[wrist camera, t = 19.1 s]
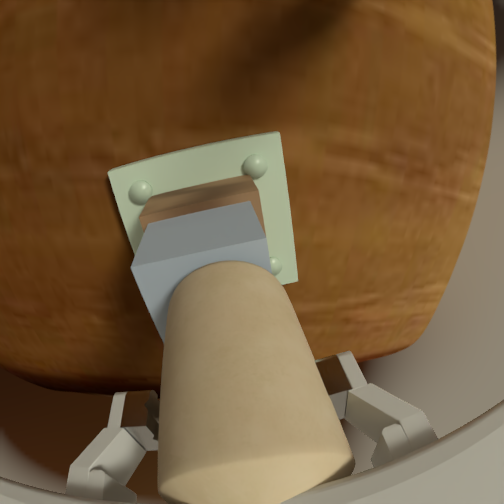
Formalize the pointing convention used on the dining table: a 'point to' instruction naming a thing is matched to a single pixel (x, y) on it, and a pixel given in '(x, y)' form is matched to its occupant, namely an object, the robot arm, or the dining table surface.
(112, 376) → the dining table surface
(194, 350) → the candle
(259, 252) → the blue brick
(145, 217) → the base brick
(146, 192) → the plate
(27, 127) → the dining table surface
